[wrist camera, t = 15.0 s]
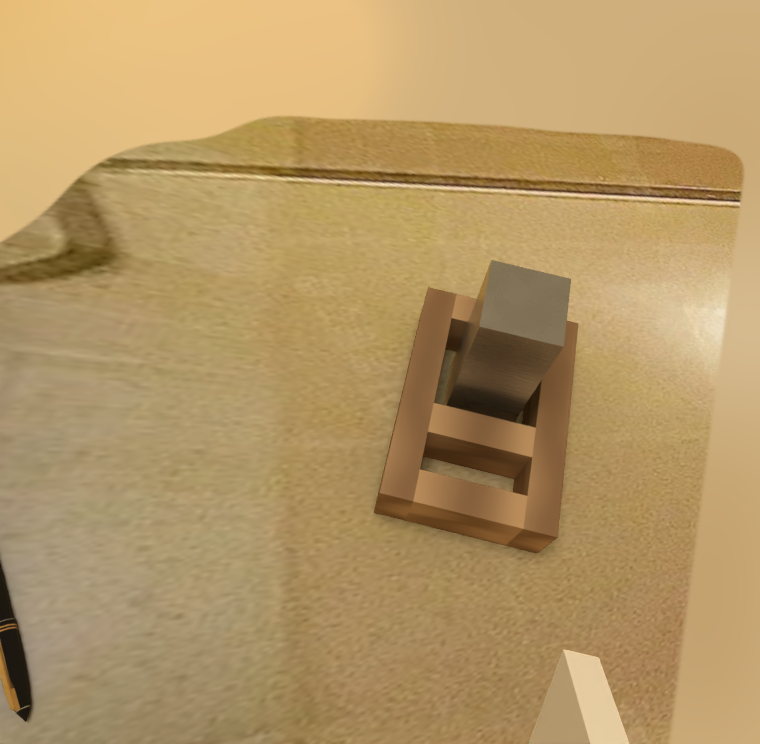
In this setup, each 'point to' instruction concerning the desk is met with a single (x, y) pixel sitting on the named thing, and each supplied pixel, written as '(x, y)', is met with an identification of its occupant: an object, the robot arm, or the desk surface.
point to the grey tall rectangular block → (508, 341)
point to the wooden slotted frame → (477, 444)
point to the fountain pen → (12, 658)
